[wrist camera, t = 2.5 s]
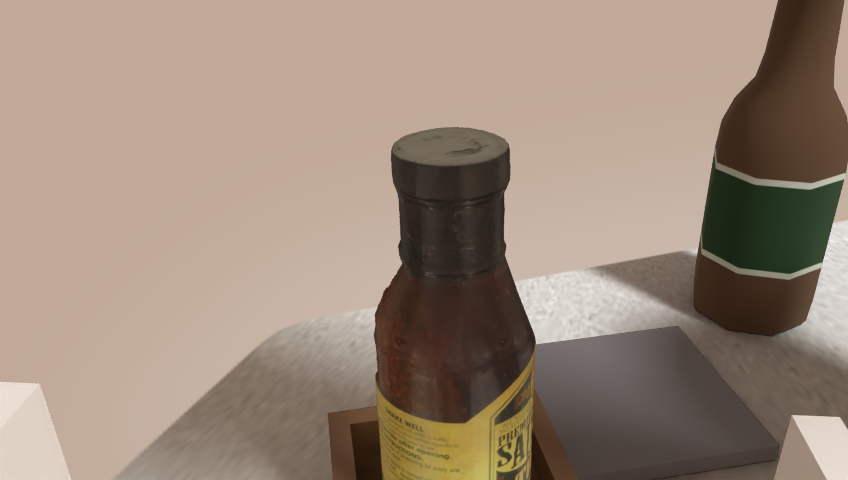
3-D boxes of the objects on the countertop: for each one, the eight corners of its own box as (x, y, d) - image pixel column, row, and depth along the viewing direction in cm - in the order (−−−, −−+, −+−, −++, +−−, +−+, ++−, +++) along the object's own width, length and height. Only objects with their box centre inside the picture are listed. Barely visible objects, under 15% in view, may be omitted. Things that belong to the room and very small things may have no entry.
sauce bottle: (527, 628, 30) (551, 188, 21) (378, 616, 31) (337, 185, 21) (525, 504, 36) (543, 115, 26) (400, 496, 36) (374, 115, 27)
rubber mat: (675, 338, 47) (677, 325, 47) (775, 459, 38) (779, 445, 37) (513, 360, 46) (513, 347, 45) (574, 492, 36) (575, 477, 36)
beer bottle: (670, 281, 54) (722, -70, 42) (772, 274, 54) (850, -75, 43) (716, 343, 47) (793, -56, 36) (832, 334, 47) (944, -63, 36)
